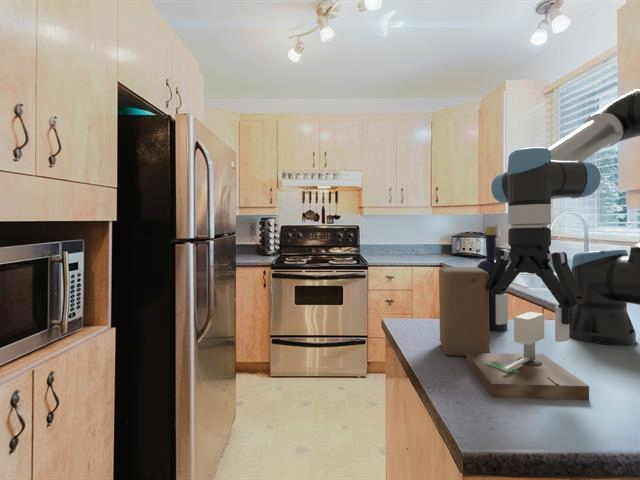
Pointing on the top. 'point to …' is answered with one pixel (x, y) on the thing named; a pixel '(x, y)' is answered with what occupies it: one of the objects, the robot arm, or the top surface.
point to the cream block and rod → (527, 335)
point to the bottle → (488, 266)
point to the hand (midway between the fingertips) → (529, 331)
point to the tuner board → (526, 377)
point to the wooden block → (464, 310)
